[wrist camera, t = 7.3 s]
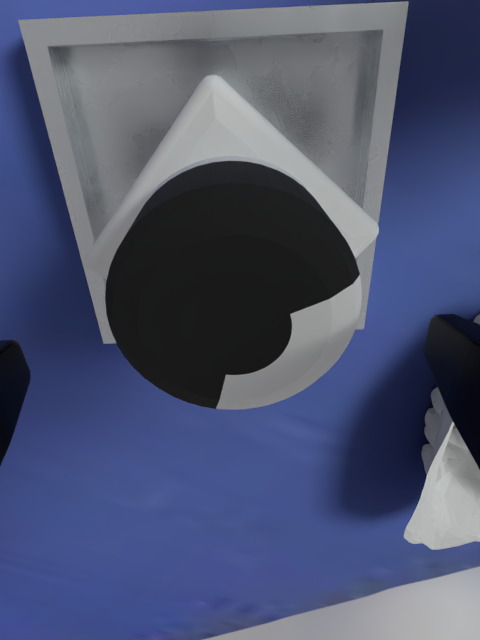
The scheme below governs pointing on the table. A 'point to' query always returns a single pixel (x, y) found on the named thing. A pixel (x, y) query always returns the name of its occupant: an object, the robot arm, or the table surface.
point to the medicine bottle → (231, 260)
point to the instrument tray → (240, 73)
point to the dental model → (446, 485)
